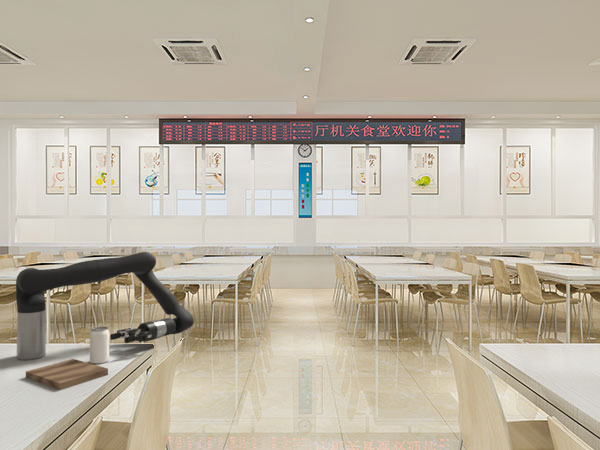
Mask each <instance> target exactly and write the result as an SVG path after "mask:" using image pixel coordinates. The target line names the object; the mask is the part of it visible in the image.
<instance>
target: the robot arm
mask: <svg viewBox="0 0 600 450" xmlns="http://www.w3.org/2000/svg"><path fill="white" fill-rule="evenodd" d="M156 265H157V259H156V257H155V256H154V255H153V253H151V252H148V251H142V252H137V253H134V254H129V255H125V256H119V257H108V258H99V259H98V258H97V259H92V260H91V259H90V260H85V261H81V262H76V263H73V264H69V265H66V266H64V267H59V268H47V269H46V268H45V269H43V268H42V269H39V268H35V267H28V268H27V267H26V268H25V269H23V270H20V272H19V273H18V275H17V277H16V280H15V294H16V295H15V297H16V299H15V302H16V315H17V317H16V322H17V324H16V326H17V327H16V328H17V329H16V358H17V360H22V361H23V360H24V361H26V360H34V359H39V358H42V357H44V356H45V355H46V354H47V353H46V351H47V350H46V347H47V346H46V345H47V343H46V341H47V339H46V337H47V336H46V335H47V333H46V332H47V331H46V330H47V328H46V327H47V323H46V322H47V321H46V319H47V316H46V315H47V314H46V313H47V309H46V308H47V306H46V305H47V304H46V303H47V302H46V299H45V292H46V291H49V290H50V291H51V290H54V289H58V288H62V287H72V286H80V285H81V286H82V285H88V284H95V283H100V282H104V281H107V280H110V279H113V278H116V277H118V276H121V275H125V274H131V273H133V275H135V277H136V278H137V279H138V280H139V281H140V282H141V283H142V284H143V285H144V286H145V287H146V289H148V291H149V292H150V293H151V294H152V296H153V297H154V299H155V300H156V302H157V303H158V304H159V306H160V308H161V309H162V310H163V312H164V313H165V315H167V316H170V315H173V316H175V317H174V318H170V317H169V318H168V317H166V318H163V319H156V320H151V321H146V322H142V323H140V324H139V325H138V326H137V328H135V327H134V328H131V327H128V328H123V329H118V330H116V332H114V333H111V334H109V341H114V340H118V339H123V342H124V344H129V343H133V342H134V343H136V342H138V343H142V342H143V343H145V342H149V341H154V340H157V339H160V338H162V337H166V336H169V335H176V334H181V333H183V332H185V331H186V330H189V329H190V328H192V327H193V325H194V322H195V321H194V317H193V315H192V314H191V312H189V310H187V309H186V308H185V307H184V306H183V305H181V304H180V303H179V301H178V300H177V298H176V297H175V295H174V294H173V292H172V291H171V290H170V289H169V288H167V286H165V285H164V284H163V283H162V282H161V281H160V280H159V279H158V278H157V276H156V274H155V273H154V271H153V270H154V268H155V267H156Z"/></svg>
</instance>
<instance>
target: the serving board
mask: <svg viewBox="0 0 600 450" xmlns="http://www.w3.org/2000/svg"><path fill="white" fill-rule="evenodd" d="M108 375H109V368H107V367H104V366H100V365H98V364H92V363H91V362H90V363H89V362H86V361H84V360H83V361H82V360H79V359H75V358H70V359H68V360H64V361H63V360H62V361H60V362H55V363H52V364H48V365H44V366H41V367H37V368H34V369H30V370H26V371H25V379H29V380H31V381H34V382H37V383H40V384H42V385H46V386H48V387H51V388H53V389H57V390H59V391H62V390H65V389H67V388H71V387H74V386H76V385H77V386H78V385H80V384H83V383H86V382H89V381H92V380H95V379H98V378H101V377H102V378H103V377H105V376H108Z"/></svg>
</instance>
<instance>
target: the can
mask: <svg viewBox="0 0 600 450" xmlns="http://www.w3.org/2000/svg"><path fill="white" fill-rule="evenodd" d="M109 360H110V331H109V327H107V326H97V327H93V328H91V331H90V333H89V362H90V364H94V365H101V364H104V363H107V362H109Z"/></svg>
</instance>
